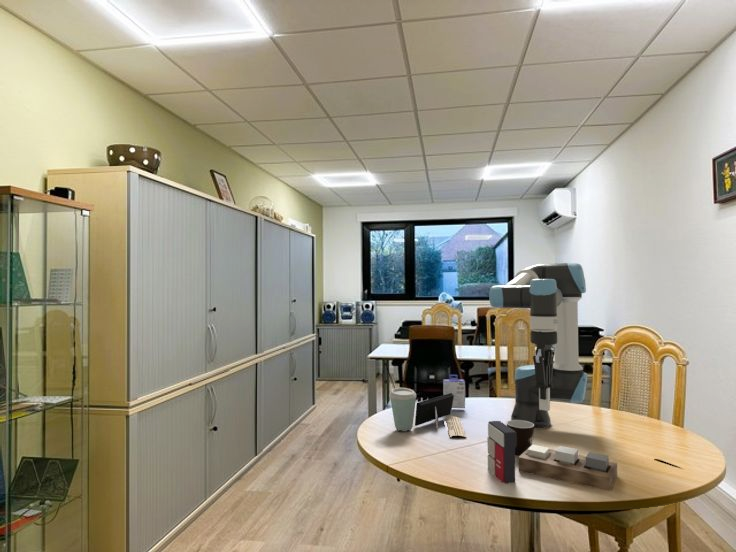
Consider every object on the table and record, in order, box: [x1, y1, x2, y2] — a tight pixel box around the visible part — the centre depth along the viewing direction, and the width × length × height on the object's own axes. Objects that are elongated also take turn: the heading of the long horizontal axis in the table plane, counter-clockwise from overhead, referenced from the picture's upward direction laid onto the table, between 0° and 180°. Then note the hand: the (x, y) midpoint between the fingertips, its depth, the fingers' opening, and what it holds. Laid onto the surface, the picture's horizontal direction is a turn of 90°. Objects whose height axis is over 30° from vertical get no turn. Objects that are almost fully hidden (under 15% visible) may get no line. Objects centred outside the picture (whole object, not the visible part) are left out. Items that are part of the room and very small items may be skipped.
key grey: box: [555, 445, 579, 466], centre depth 130 cm, size 5×5×5 cm
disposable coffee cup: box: [388, 387, 417, 432], centre depth 175 cm, size 11×11×15 cm
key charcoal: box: [585, 451, 610, 473], centre depth 125 cm, size 5×5×5 cm
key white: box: [527, 444, 550, 459], centre depth 135 cm, size 5×5×5 cm
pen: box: [653, 458, 686, 470], centre depth 135 cm, size 2×14×2 cm, turn 21°
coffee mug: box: [506, 419, 535, 457], centre depth 149 cm, size 12×9×10 cm
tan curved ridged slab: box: [444, 416, 468, 439], centre depth 176 cm, size 24×7×2 cm, turn 174°
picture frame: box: [414, 393, 454, 430], centre depth 185 cm, size 22×10×10 cm
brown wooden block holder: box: [518, 444, 618, 492], centre depth 130 cm, size 24×12×5 cm, turn 53°
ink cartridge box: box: [442, 374, 466, 409], centre depth 205 cm, size 10×6×14 cm, turn 83°
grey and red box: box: [487, 420, 517, 484], centre depth 130 cm, size 11×4×15 cm, turn 9°
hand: (544, 409), depth 134 cm, fingers closed
